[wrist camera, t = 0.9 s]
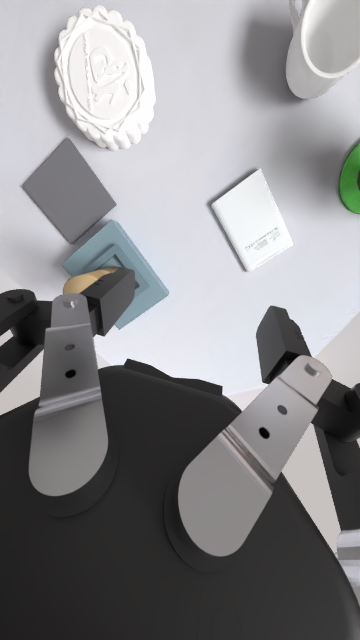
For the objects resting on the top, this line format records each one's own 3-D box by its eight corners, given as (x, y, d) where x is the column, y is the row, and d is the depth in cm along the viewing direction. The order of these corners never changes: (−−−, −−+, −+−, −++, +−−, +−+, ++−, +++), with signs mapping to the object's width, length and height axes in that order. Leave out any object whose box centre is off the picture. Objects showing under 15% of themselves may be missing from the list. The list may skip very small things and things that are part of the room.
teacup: (351, 68, 25) (394, 23, 20) (300, 125, 27) (327, 98, 22) (305, -13, 22) (341, -88, 17) (253, 57, 25) (271, 8, 20)
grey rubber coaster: (25, 187, 30) (22, 186, 29) (69, 139, 28) (67, 137, 27) (72, 243, 33) (70, 243, 32) (116, 204, 31) (115, 203, 30)
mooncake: (155, 154, 28) (151, 142, 25) (73, 148, 28) (58, 135, 25) (157, 36, 24) (152, 2, 21) (60, 28, 24) (40, -7, 21)
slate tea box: (71, 262, 34) (57, 264, 30) (118, 222, 31) (109, 219, 28) (123, 323, 38) (117, 332, 34) (169, 291, 35) (167, 297, 32)
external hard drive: (256, 171, 29) (289, 244, 33) (210, 205, 31) (245, 271, 35) (261, 167, 28) (294, 244, 31) (211, 203, 30) (248, 273, 33)
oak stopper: (95, 276, 32) (54, 291, 21) (116, 260, 31) (83, 267, 20) (114, 299, 33) (83, 323, 23) (135, 283, 32) (112, 301, 22)
